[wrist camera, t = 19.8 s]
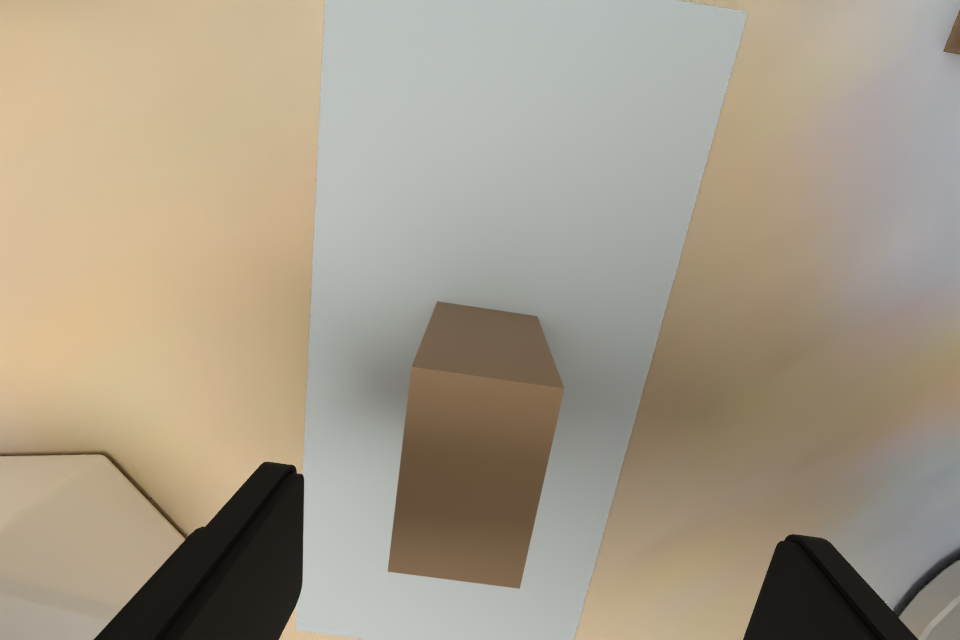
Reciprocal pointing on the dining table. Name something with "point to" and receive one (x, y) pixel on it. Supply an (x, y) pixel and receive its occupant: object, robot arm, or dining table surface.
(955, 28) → the brown block
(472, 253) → the lid
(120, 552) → the jar
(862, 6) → the dining table surface
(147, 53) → the dining table surface
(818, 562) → the robot arm
